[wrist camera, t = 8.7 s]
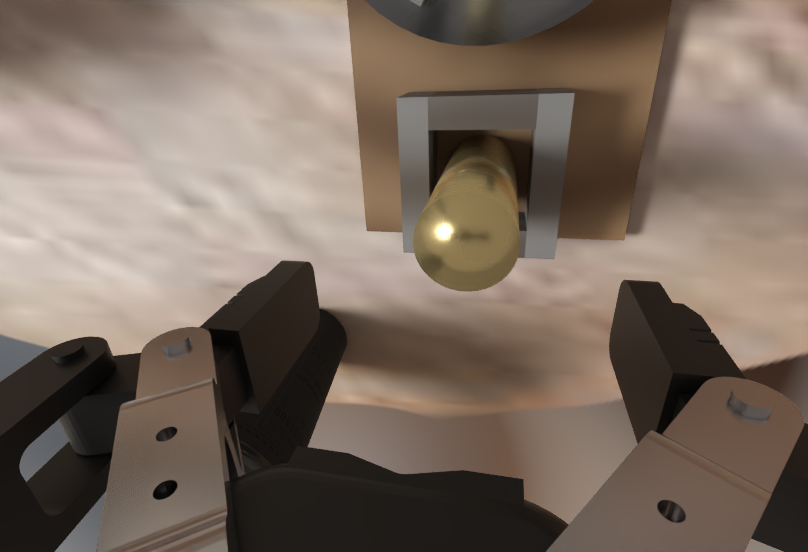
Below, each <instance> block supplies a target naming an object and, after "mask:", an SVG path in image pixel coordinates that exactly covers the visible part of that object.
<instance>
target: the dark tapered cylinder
mask: <svg viewBox="0 0 808 552" xmlns="http://www.w3.org/2000/svg"><path fill="white" fill-rule="evenodd" d="M319 310H320V309H319ZM346 343H347V338H346V333H345V331H344V328H343V327H342V325H341V324H340V322H339V321H338V320H337V319H336V318H335V317H333V316H332V315H331V314H329V313H327V312H325V311H323V310H320V320H319V325H318V328H317V331H316V333H315V334H314V336H313V337H312V339H311V340H310V342H309V343H308V344H307V346H306V347H305V349H304V350H303V352H302V353H301V355H300V356H299V357H298V359H297V360H296V362H295V363H294V365H293V366H292V368H291V369H290V370H289V372H288V373H287V375H286V376H285V378H284V379H283V381H282V382H281V383H280V385H279V386H278V388H277V389H276V391H275V392H274V394H273V395H272V397H271V398H270V399H269V401H268V402H267V404H266V405H265V407H264V408H263V410H262V411H261V412H260V414H255V413H248V412H240V411H239V412H238V414H237V415H236V416H235V418H234V419H235V422H236V426H237V431H238V436H239V442H240V448H241V454H242V460H243V466H244V472H245V474H247V473H249V472H252V471H254V470H257V469H261V468H264V467H268V466H273V465H278V464H285V463H288V462H289V460H290V458H291V456H292V455H293V453H294V451H295V449H296V447H297V446H302V447H308V444H309V442H310V439H311V436H312V434H313V431H314V429H315V426H316V423H317V421H318V418H319V415H320V413H321V410H322V407H323V405H324V402H325V400H326V397H327V395H328V392H329V389H330V387H331V384H332V381H333V379H334V376H335V374H336V371H337V368H338V366H339V363H340V361H341V358H342V355H343V353H344V350H345V347H346Z"/></svg>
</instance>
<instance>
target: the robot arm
mask: <svg viewBox="0 0 808 552" xmlns="http://www.w3.org/2000/svg"><path fill="white" fill-rule="evenodd" d="M319 320H320V310H319V303H318V296H317V289H316V283H315V276H314V270H313V267H312V265H311V263H310V262H302V261H281V262H280V263H279V264H278V265H277V266H276V267H274V268H273V269H272V270H271V271H270V272H269V273H268V274H267V275H266V276H263V277H261V278H259V279H257V280H255V281H253V282H251V283H249V284H247V285H246V286H245V287H244V288H243V289H242V290H241V291H240V292H239V293H237V296H234V297H233V298H232V299H231V300H230V301H228V304H225V305H224V306H223V307H222V308H221V309H219V310H218V311H217V312H216V313H215V314H214V315H213V316H212V317H210V318H209V319H208V320H207V321H206V322H205V323H204V324H203V325H201V326H200V327H185V328H179V329H175V330H171V331H168V332H166V333H163V334H161V335H159V336H157V337H156V338H154V339H153V340H151V341H150V342H149V343H147V344H146V345H145V347H144V348H143V350H142V352H141V353H136V354H127V355H118V356H113V355H112V353H111V350H110V348H109V345H108V343H107V341H106V340H105V339H103V338H100V337H83V338H77V339H73V340H70V341H66V342H64V343H61V344H58V345H56V346H54V347H52V348H50V349H48V350H47V351H45V352H43V353H42V354H40V355H39V356H37V357H36V358H34V359H33V360H32V361H30V362H29V363H28V364H26V365H24V366H23V367H21V368H20V369H19V370H17V371H16V372H14V373H13V374H11V375H10V376H8V377H7V378H6V379H4V380H3V381H1V382H0V552H55V550H56V549H57V548H58V547H59V546H60V544H61V543H62V542H63V541H64V540H65V539H66V537H67V536H68V535H69V534H70V533H71V531H72V530H73V529H74V528H75V527H76V525H77V524H78V523H79V522H80V521H81V520H82V519H83V517H84V516H85V515H86V514H87V513H88V512H89V510H90V509H91V508H92V507H93V506H94V504H95V503H96V502H97V501H98V500H99V499H100V497H101V496H102V495H103V494H104V493H105V492H106V495H105V501H104V508H103V514H102V520H101V526H100V532H99V538H98V544H97V550H96V552H745V550H746V548H747V545H748V543H749V541H750V539H751V538H752V539H754V540H757V541H759V542H761V543H764V544H766V545H769V546H771V547H774V548H776V549H779V550H781V551H784V552H808V424H806V423H804V417H803V415H802V413H801V412H800V410H799V409H798V408H797V407H796V406H795V405H794V404H793V403H792V402H791V401H790V400H789V399H787V398H786V397H785V396H783V395H782V394H780V393H778V392H776V391H775V390H773V389H771V388H769V387H767V386H764V385H762V384H759V383H756V382H753V381H750V380H747V379H746V378H745V377H744V375H743V374H742V372H741V371H740V369H739V368H738V367H737V365H736V364H735V362H734V361H733V360H732V358H731V357H730V355H729V354H728V353H727V351H726V350H725V348H724V347H723V346H722V345H720V341H719V340H718V339H717V337H716V336H715V335H714V333H711V329H710V328H709V326H708V325H707V323H706V322H705V321H704V319H703V318H702V316H700V315H699V314H697V313H696V312H694V311H693V310H691V309H690V308H689V307H687V306H686V305H684V304H680V303H672V301H671V300H670V298H669V296H668V295H667V293H666V292H665V290H664V289H663V287H662V285H661V284H660V283H659V282H652V281H634V280H623V282H622V283H621V285H620V289H619V293H618V298H617V303H616V308H615V313H614V318H613V323H612V328H611V333H610V342H609V351H610V359H611V362H612V365H613V369H614V372H615V375H616V378H617V381H618V384H619V387H620V390H621V393H622V397H623V400H624V403H625V405H626V409H627V412H628V415H629V418H630V421H631V424H632V428H633V431H634V434H635V437H636V440H637V443H638V445H637V446H636V447H635V448H634V449H633V450H632V452H631V453H630V454H629V455H628V456H627V457H626V459H625V460H624V461H623V462H622V463H621V464H620V466H619V467H618V468H617V469H616V470H615V472H614V473H613V474H612V475H611V476H610V477H609V478H608V480H607V481H606V482H605V483H604V484H603V486H602V487H601V488H600V489H599V490H598V491H597V493H596V494H595V495H594V496H593V497H592V498H591V500H590V501H589V502H588V503H587V504H586V506H585V507H584V508H583V509H582V510H581V511H580V513H579V514H578V515H577V516H576V517H575V518H574V519H573V521H572V522H571V523H570V524H569V525H568V524H567V523H566V522H565V521H563V520H562V519H560V518H559V517H557V516H556V515H554V514H553V513H551V512H549V511H547V510H546V509H544V508H542V507H540V506H538V505H536V504H534V503H531V502H529V501H527V500H524V487H523V479H518V478H511V477H504V476H498V475H490V474H484V473H477V472H470V471H463V470H462V471H447V472H433V473H419V474H398V473H395V472H393V471H390V470H388V469H385V468H383V467H381V466H378V465H375V464H373V463H371V462H368V461H366V460H363V459H361V458H359V457H356V456H354V455H351V454H349V453H343V452H335V451H329V450H323V449H316V448H308V447H302V446H297V447H296V449H295V451H294V453H293V455H292V456H291V458H290V460H289V462H288V463H285V464H278V465H273V466H268V467H264V468H261V469H257V470H254V471H252V472H249V473H247V474H245V472H244V466H243V460H242V454H241V448H240V442H239V436H238V431H237V426H236V422H235V419H234V418H235V416H236V415H237V414H238V412H239V411H240V412H248V413H255V414H260V412H261V411H262V410H263V408H264V407H265V405H266V404H267V402H268V401H269V399H270V398H271V397H272V395H273V394H274V392H275V391H276V389H277V388H278V386H279V385H280V383H281V382H282V381H283V379H284V378H285V376H286V375H287V373H288V372H289V370H290V369H291V368H292V366H293V365H294V363H295V362H296V360H297V359H298V357H299V356H300V355H301V353H302V352H303V350H304V349H305V347H306V346H307V344H308V343H309V342H310V340H311V339H312V337H313V336H314V334H315V333H316V331H317V328H318V325H319ZM57 420H58V421H59V423H60V425H61V427H62V428H63V431H64V432H65V434H66V436H67V438H68V440H69V442H68V443H67V444H66V445H65V446H64V447H63V448H62V449H61V450H60V451H59V452H57V453H56V454H55V455H54V456H53V457H52V458H51V459H50V460H49V461H48V462H47V463H46V464H45V465H44V466H43V467H42V468H41V469H40V470H39V471H38V472H36V474H34V475H33V476H32V477H31V478H30V479H29V480H28V481H27V482H26V481H25V480H24V478H23V477H22V475H21V473H20V469H19V464H20V459H21V457H22V454H23V452H24V451H25V449H26V448H27V447H28V446H29V445H30V444H31V443H32V442H33V441H34V440H35V439H36V438H38V437H39V436H40V435H41V434H42V433H43V432H44V431H46V430H47V429H48V428H49V427H50V426H51V425H52V424H54V423H55V422H56V421H57Z"/></svg>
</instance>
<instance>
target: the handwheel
mask: <svg viewBox="0 0 808 552" xmlns="http://www.w3.org/2000/svg"><path fill="white" fill-rule="evenodd" d="M365 1H366V2H367V3H368V4H369V5H370V6H371V7H373V8H374V9H375V10H376V11H377V12H378V13H379V14H381V15H382V16H384V17H385V18H387V19H388V20H390V21H391V22H393V23H394V24H396V25H397V26H399V27H401V28H403V29H405V30H407V31H410V32H412V33H414V34H416V35H418V36H421V37H424V38H427V39H431V40H434V41H437V42H441V43H448V44H454V45H461V46H489V45H496V44H503V43H509V42H513V41H516V40H520V39H523V38H526V37H530V36H533V35H535V34H537V33H539V32H542V31H544V30H546V29H549V28H551V27H553V26H555V25H557V24H559V23H561V22H562V21H564V20H566V19H567V18H569V17H571V16H572V15H574V14H576V13H577V12H579V11H581V10H582V9H584V8H585V7H586V6H588V5H589V4H590V3H591V2H593V1H594V0H365Z"/></svg>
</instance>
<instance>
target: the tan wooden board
mask: <svg viewBox="0 0 808 552" xmlns="http://www.w3.org/2000/svg"><path fill="white" fill-rule="evenodd" d="M671 1H672V0H594V1H593V2H591V3H590V4H589V5H588V6H586V7H585V8H584V9H582V10H581V11H579V12H577V13H576V14H574V15H572V16H571V17H569V18H567V19H566V20H564V21H562V22H561V23H559V24H557V25H555V26H553V27H551V28H549V29H546V30H544V31H542V32H539V33H537V34H535V35H533V36H530V37H526V38H523V39H520V40H516V41H513V42H509V43H503V44H496V45H489V46H461V45H454V44H448V43H441V42H437V41H434V40H431V39H427V38H424V37H421V36H418V35H416V34H414V33H412V32H410V31H407V30H405V29H403V28H401V27H399V26H397V25H396V24H394V23H393V22H391V21H390V20H388V19H387V18H385V17H384V16H382V15H381V14H379V13H378V12H377V11H376V10H375V9H374V8H373V7H371V6H370V5H369V4H368V3H367V2H366V1H365V0H347V6H348V18H349V29H350V41H351V53H352V64H353V76H354V88H355V99H356V111H357V122H358V134H359V146H360V157H361V169H362V180H363V192H364V204H365V215H366V227H367V231H381V232H403V249H404V252H406V253H415V252H414V247H413V235H414V230H415V226H416V224H417V222H418V220H419V218H420V216H421V214H422V212H423V210H424V208H425V206H426V204H427V202H428V200H429V198H430V197H431V195H432V193H433V191H434V189H435V187H436V185H437V183H438V181H439V179H440V177H441V176H442V174H443V172H444V170H445V168H446V166H447V164H448V162H449V160H450V158H451V156H452V155H453V153H454V151H455V149H456V148H457V147H458V146H459V144H461V143H462V142H463V141H464V140H466V139H467V138H469V137H472V136H475V135H481V134H487V135H492V136H495V137H498V138H500V139H501V140H503V141H504V142H505V143H506V144H507V145H508V146H509V147H510V149H511V150H512V152H513V155H514V158H515V164H516V181H517V198H518V215H519V232H520V250H519V255H518V258H537V259H554V258H555V250H556V242H557V238H573V239H600V240H625V234H626V229H627V224H628V219H629V214H630V209H631V204H632V199H633V194H634V189H635V184H636V179H637V174H638V168H639V163H640V158H641V153H642V148H643V143H644V138H645V133H646V128H647V123H648V118H649V113H650V107H651V102H652V97H653V92H654V87H655V82H656V77H657V72H658V67H659V62H660V57H661V52H662V47H663V41H664V36H665V31H666V26H667V21H668V16H669V11H670V6H671Z"/></svg>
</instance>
